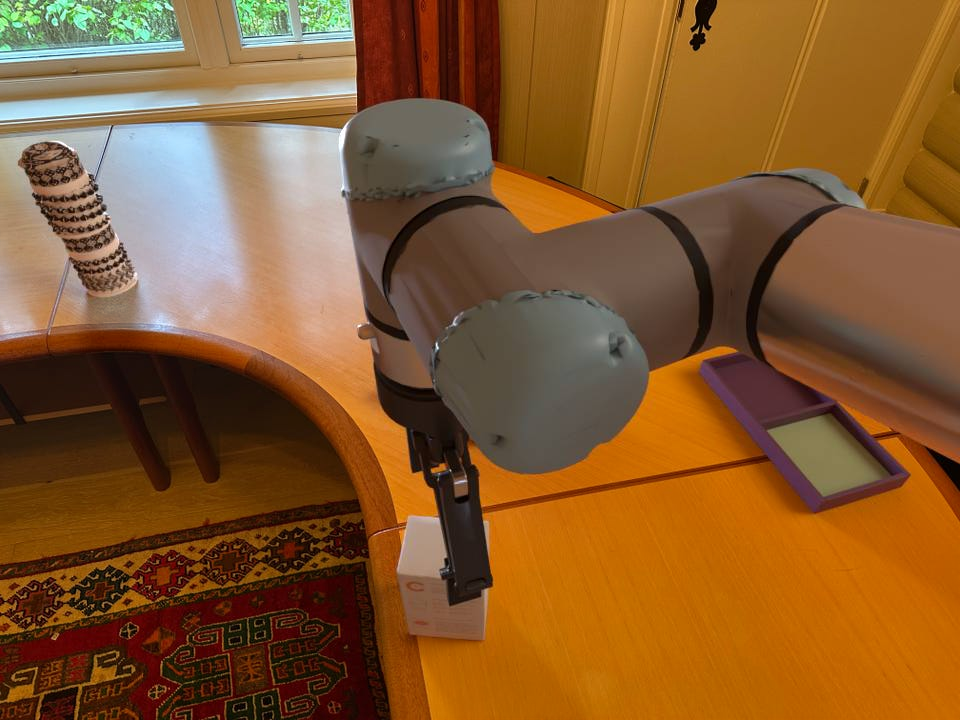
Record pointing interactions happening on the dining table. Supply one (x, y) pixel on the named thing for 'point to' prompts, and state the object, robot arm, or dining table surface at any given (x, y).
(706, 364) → the purple divided tray
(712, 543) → the dining table surface
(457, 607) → the small box
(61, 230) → the decorative candle
